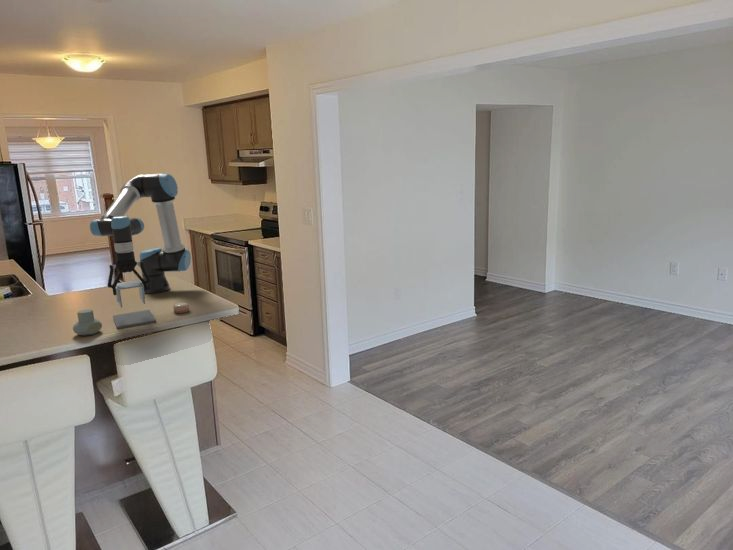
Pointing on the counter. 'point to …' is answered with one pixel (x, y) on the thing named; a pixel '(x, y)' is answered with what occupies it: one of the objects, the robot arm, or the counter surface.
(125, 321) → the mat
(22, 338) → the counter surface
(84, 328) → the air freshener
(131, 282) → the grey arch block
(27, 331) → the counter surface
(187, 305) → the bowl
